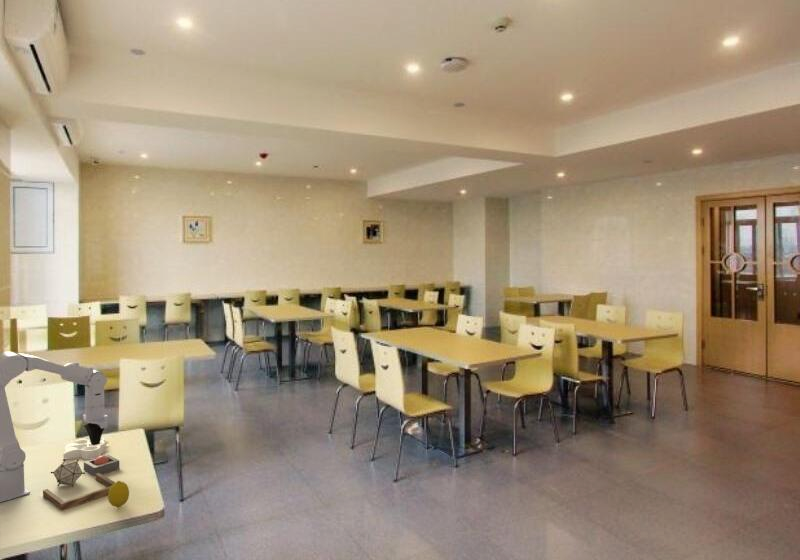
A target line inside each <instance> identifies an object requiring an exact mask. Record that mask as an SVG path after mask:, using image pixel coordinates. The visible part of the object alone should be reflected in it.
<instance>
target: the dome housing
mask: <svg viewBox="0 0 800 560" xmlns="http://www.w3.org/2000/svg"><path fill="white" fill-rule="evenodd" d="M105 456H106V457H107V458H108V459H109V462H108V463H105V464H101V465H98V466H96V465H94V462H95V459H96V458H93V459H87V460H85V461H83V471H84V470H85V471H84V472H85V473H87V472H88V473H87V474H89V473H90V475H91V476H92V475H93V477H95V474H97V473H100V474H102V475H104V473H105V474H109V473H111V472H114V471H117V469H118V470H120V460H119V459H117V458H116V457H113V456H112V455H110V454H105Z"/></svg>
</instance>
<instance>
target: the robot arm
mask: <svg viewBox="0 0 800 560" xmlns="http://www.w3.org/2000/svg"><path fill="white" fill-rule="evenodd" d="M34 370H39V371H44V372H47V373H53V374H56V375H59V376H60V378H61V380H63V381H66V382H71V383H74V384H78V385H80V386H81V385H84V391H85V392H84V409H85V410H84V414H83V413H82V414H83V415H82V420H83V421H84V423H86V424H84V425H83V426H84V427H83V428H85V431H86V432H87V434H88V436H89V438H90V441H91V444H92V445H97V444H99V443H100V440H101V438H102V435H103V432H104V430H105V429H106V428H108V427H109V425H108V423H109V422H108V421H107V419H108V418H109V415H107V414H106V413H105V385H106V384H107V382H108V378H107V377H106V374H105V373H104V372H102V371H99V370H98V369H95V368H93V367H92V366H88V367H85V366H83V365H80V363H79V362H76V361H74V362H69V363H66V364H60V363H57V362H54V361H51V360H47V359H46V358H45V359H44V358H42V357H38V356H35V355H30V354H26V353H20V352H18V353H16V352H13V351H4V352H0V503H3V502H6V501H9V500H13V499H17V498H19V497H23V496H26V495H28V494H30V493H31V491H29V490H28V489H27V488H25V461H26V452H25V451H24V449H22V448H21V446H20V442H19V441H18V439H17V436H16V433H15V428H14V423H13V419H12V416H11V415H12V414H11V410H10V407H9V406H10V405H9V401H8V397H7V393H6V386H8V384H9V383H10V382H11V381H12V380H13V379H15V378H17V377H18V376H20V375H21V374H23V373H24V372H31V371H34Z"/></svg>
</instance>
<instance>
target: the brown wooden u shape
mask: <svg viewBox="0 0 800 560" xmlns="http://www.w3.org/2000/svg"><path fill="white" fill-rule="evenodd" d="M94 479H95V481H96V482H98V483H100V484H101V485H103V486H104V487H103V488H101V489H98V490H95V491H92V492H89V493H86V494H83V495H80V496H76V497H74V498H70V499H67V500H64V499H62V498H61V497H59V496H58V495H57V494H56V493H54V492H52V491H51V490H49V489H48V488H46V489H43V490H42V497H43V498H44V499H45V500H47V501H48V502H49V503H51V504H52V505H53V506H55V507H56V508H58V510H61V511H62V510H63V511H65V509H66V510H69V509H71V508H70V507H72V508H74V507H77V506H79V504H80V505H83V504H86V503H88V502H87V501H89V502H92V501H94V500H97V499H101V498H103V497H106V496H108V492H109V489H110V487H111V486H112V485H113V484H114V483H116V482H115V481H114V480H112V479H111V478H109V477H107V476H105V475H104V474H100V473H97V474H95V478H94ZM91 500H92V501H91ZM85 502H86V503H85ZM82 503H83V504H82ZM76 505H77V506H76ZM73 506H74V507H73ZM68 508H69V509H68Z"/></svg>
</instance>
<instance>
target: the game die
mask: <svg viewBox="0 0 800 560" xmlns="http://www.w3.org/2000/svg"><path fill="white" fill-rule="evenodd" d="M50 474H53V476H54V478H55V479H56V483H58V484H57V487H60V485H65V486H66V485H67V486H71V487H72V488H73V487H74V483H75V482H76V481H77V480H79V478H80V477H81V476H82V475H85V474H86V471H84V472H83V471H82V469H81V466H80V464H79V458H78V459H77V460H76V461H74V460H72V461H71V460H66V459H65V458H63V459H62V463H61V464H60V465H59V466H58V467H57V468H56V469H55V470H54V471H50Z"/></svg>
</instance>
